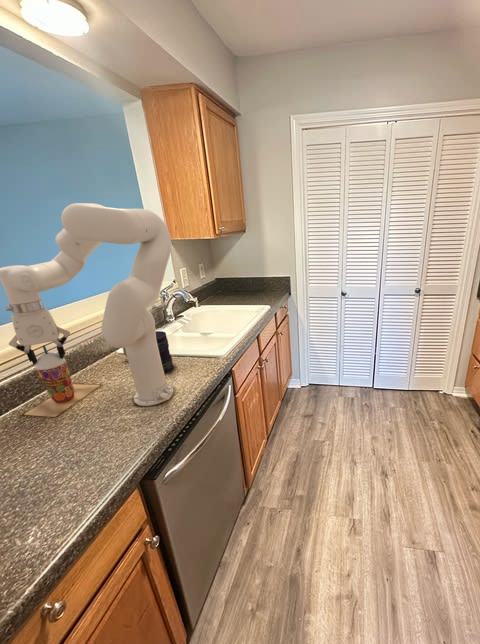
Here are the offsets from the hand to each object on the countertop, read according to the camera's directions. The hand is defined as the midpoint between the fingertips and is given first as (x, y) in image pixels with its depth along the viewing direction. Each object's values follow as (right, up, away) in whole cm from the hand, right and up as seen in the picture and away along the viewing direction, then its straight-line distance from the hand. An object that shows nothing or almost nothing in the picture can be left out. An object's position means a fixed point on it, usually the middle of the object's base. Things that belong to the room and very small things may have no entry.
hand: (49, 359), depth 106 cm
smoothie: (+1, -14, +6) cm, 15 cm away
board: (+1, -14, +6) cm, 15 cm away
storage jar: (+27, -5, +24) cm, 36 cm away
